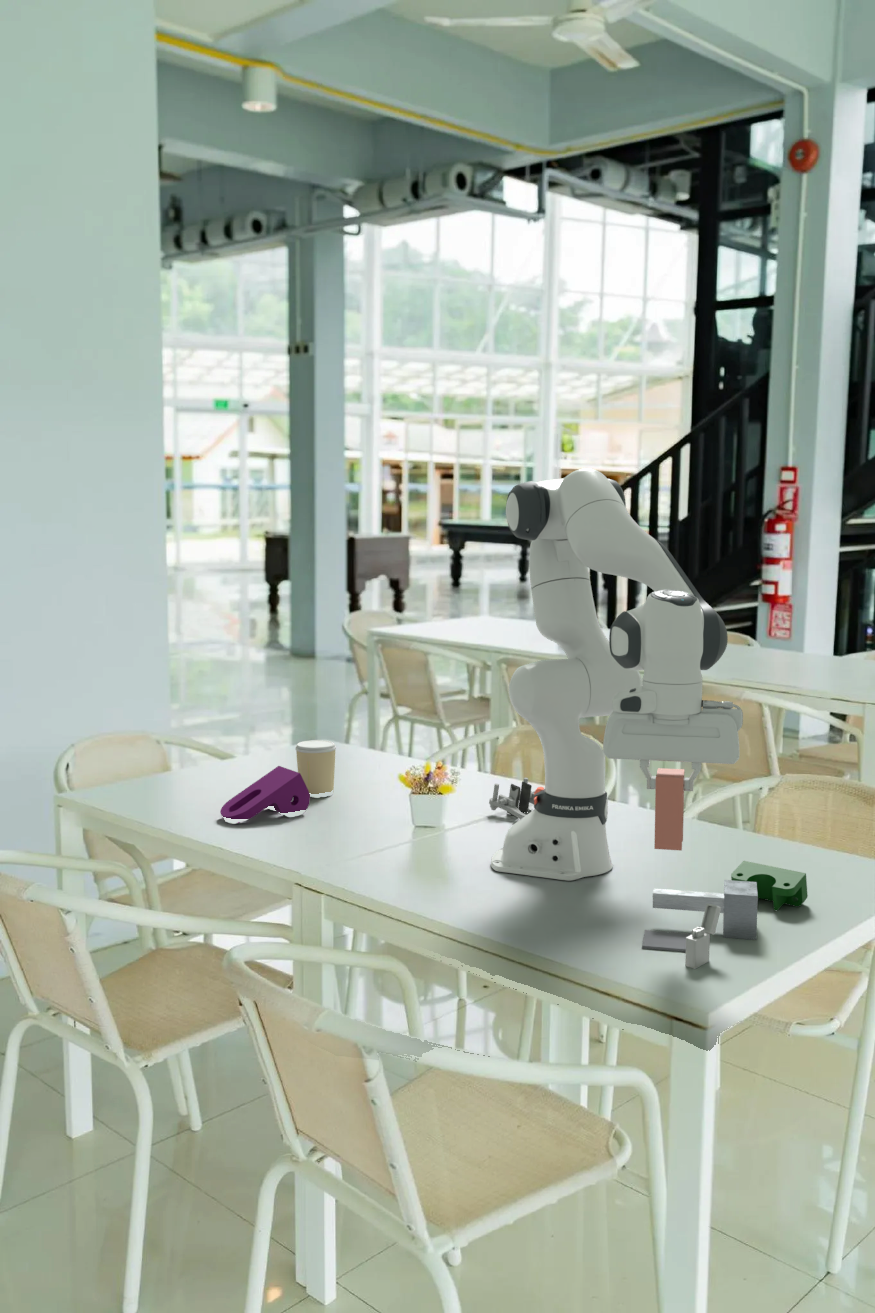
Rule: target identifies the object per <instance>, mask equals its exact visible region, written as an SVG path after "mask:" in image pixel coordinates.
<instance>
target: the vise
mask: <svg viewBox="0 0 875 1313" xmlns="http://www.w3.org/2000/svg"><path fill="white" fill-rule="evenodd" d="M758 901H759V898H758V893H757V883H756V882H748V881H733V880H731V879H730V880H729V879H724V880H723V892H721V893H720V892H708V891H697V890H695V891H694V890H678V889H667V888H666V889H665V888H664V889H663V888H653V890H652V909H664V910H665V909H666V910H678V911H692V912H693V911H694V912H704V913H705V909H706V905H707V904H712V905H716V906H719V907H720V908H721V911H720V914H722V915H723V916H722V938H727V939H741V940H743V939H744V940H756V941H757V934H758V933H757V931H758V930H757V929H758V928H757V926H758Z"/></svg>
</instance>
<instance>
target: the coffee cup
mask: <svg viewBox="0 0 875 1313" xmlns="http://www.w3.org/2000/svg"><path fill="white" fill-rule="evenodd" d="M336 749H337V746H336V744H335V742H333V741H330V740H326V739H323V740H322V739H321V740H320V739H312V740H303V741H299V742H298V743H296V746H295V751H296V762H297V764H296V767H297V772H298V773H300V774H301V776H302V778H303V780H304V782H305V785H306V787H307V789H308V791H309V793H311V794H319V793H325V792H331V791H332V790H333V791H334V784H335V771H336V770H335V768H336Z"/></svg>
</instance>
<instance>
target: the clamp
mask: <svg viewBox="0 0 875 1313" xmlns="http://www.w3.org/2000/svg"><path fill="white" fill-rule="evenodd" d="M730 876H731V877H730V880H733V881H748V882H756V883H757V893H758V899H761V900H765V899H766V900H765V901H769V900H770V901H769V902H773V903H772V905H773V911H776V910H777V911H779V910H780V909H781V907H782V906H783V905H787V904H790V905H789V906H792V905H794V906H793V907H796V906H799V907H801V906H802V905H803V904H804V903H805V901H806V900H807V899H808V896H809V895H808V883H807V882H808V881H807V873H806V872H802V871H798V870H792V869H787V868H782V867H777V866H772V865H766V864H762V863H757V862H754V861H753V862H752V861H747V860H742V862H741V863H740V864H739V865H738V866H737V867H736V868H735V869H734V870H733V871H732V872H731V874H730Z"/></svg>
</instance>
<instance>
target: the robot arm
mask: <svg viewBox="0 0 875 1313" xmlns="http://www.w3.org/2000/svg"><path fill="white" fill-rule="evenodd" d="M626 504H627V503H626V497H625V493H624V490H623V488H622V486H620V484H619V483H618V481H617V480H614V479H610V478H609V477H608V478H607V476H606V475H604V474H603V473H602V472H601V471H599V470H597V469H594V468H587V467H585V468H579V469H576V470H574V471H572V472H570V473H568V474H567V475H566V476H565V477H563V478H554V479H545V480H539V481H534V480H530V481H525V482H522V483H521V482H520V483H519V484H516V485H514V486H513V487H512V488H511V490H510V491H509V493H508V495H507V498H506V504H505V518H506V522H507V525H508V529H509V530H510V532H511V533H512V534H513V535H514V536H515V537H516V538H518V539H521V540H527V541H531V542H530V546H529V558H528V559H529V560H528V561H529V580H530V590H531V591H530V592H531V597H532V603H533V610H534V617H535V625H536V627H537V630H538V631H539V633H540V634H541V635H542V636H543V637H544V638H545V639H548V640H550V641H551V642H553V643H555V644H557V645H558V646H559V647H560V648H561V650H563V653H564V654H565V655H566V657H567V658H557V659H541V660H537V661H535V662H530V663H526V664H523V665H521V666H518V667H517V668H516V669H515V671H514V672H513V674H512V675H511V677H510V680H509V683H508V684H509V685H508V697H509V700H510V704H511V706H512V707H513V709H514V711H515V713H517V714H518V715H519V716H520V717H521V718H522V719H524V720H525V721H527V723H529V725H531V727H532V728H533V729H534V732H536V734H537V737H538V738H539V740H540V743H541V746H542V752H543V762H544V764H543V765H544V786H538V787H536V789H535V790H534V791H535V792H534V791H533V792H534V804H533V808H534V809H533V810H532V811H530V812H528V813H526V814H525V815H526V816H524V817H523V818H522V819H519V820H517V821H516V822H515V823H514V824H512V825H511V826H510V827H509V829H508V830H507V832H506V833H505V834H506V835H505V837H504V840H503V846H502V848H500V849H498V850H496V851H495V852H494V854H492V856H491V861H490V867H491V868H492V870H494V871H496V872H500V873H509V874H515V875H516V874H517V875H524V876H531V877H538V878H546V879H554V880H561V881H569V882H570V881H575V880H576V881H577V880H579V879H581V878H584V877H585V878H586V877H592V876H598V875H602V874H606V873H608V872H610V871H611V870H612V868H613V866H614V864H613V862H612V858H611V856H610V855H611V854H610V849H609V844H608V837H607V835H608V834H607V826H606V825H607V824H606V823H607V821H608V812H609V810H608V809H609V806H608V805H609V804H608V802H609V801H608V800H609V799H608V792H607V790H606V758H607V759H610V760H611V759H615V760H632V761H636V760H637V761H639V768H640V770H641V771H642V773H643V775H644V777H645V778H646V789H647V790H656V775H652V773H651V771H650V769H649V767H650V764H651V761H653V762H655V761H657V762H659V761H661V762H676V763H677V762H678V763H679V762H680V763H691V770H693V771H692V772H691V774H690V776H689V777H685V776H684V787H683V791H684V792H694V781H695V780H696V778H697V777H698V776H699V774H700V772H701V771H702V764H703V763H704V764H722V765H724V764H726V765H734V764H736V763H737V762H738V761H739V760H740V756H741V755H740V740H739V739H740V738H739V731H740V730H741V728H742V727H743V725H744V724H743V723H744V722H743V721H744V712H743V710H742V708H741V707H740V706H739V705H737V704H734V702H733V701H730V700H729V701H728V700H725V701H716V700H708V699H707V700H704V699H703V675H702V672H701V671H708V670H710V669H711V668H713V666H714V665H715V664H717V663H718V661H719V660H720V659H721V658H722V656H723V655H724V654H725V652H726V649H727V646H728V641H729V640H728V631H727V627H726V625H725V622H724V620H723V619H722V617H721V616H720V615H719V613H717V611H716V610H715V609H714V608H713V607H712V606H711V605H709V603H708V602H706V600H704V598H703V597H702V596H701V595H700V593H699V592H698V590H697V588H696V587H695V586H694V584H693V583H692V582H691V579H689V576H687V574H686V573H685V572H684V570H683V569H682V567H681V566H680V564H679V563H678V561H677V560H676V559H675V558H674V556H673V555H672V553H671V552H670V550H668V548H667V547H666V546H665V545H664V544H663V542H660V541H659V540H658V539H657V538H655V537H653V536H652V535H650V534H649V533H648V532H646V530H644V529H643V528H642V527H641V526H640V525H639V524H638V523H637V522H636V520H634V519H633V517H632V516H631V515H630V513H629V511H628V509H627V508H626V507H627V505H626ZM589 569H590V570H592V571H595V572H598V573H600V574H601V573H602V574H606V575H613V576H617V577H621V578H622V577H623V578H625V579H630V580H633V581H636V582H639V583H641V584H643V585H645V586H647V587H649V588H650V589H652V592H650V593H649V594H648V596H647V597H646V600H645V602H644V603H643V604H641V605H639V606H637V607H635V608H632V609H630V610H626V611H622V612H621V613H620V614H619V615H617V616H616V617H615V619H614V621H613V622H612V624H611V625H610V629H609V637H608V638H607V636H606V635H605V633H604V631H603V629H602V627H601V625H600V622H599V619H598V615H597V610H596V606H595V600H594V597H593V596H594V594H593V590H592V585H591V577H590V572H589ZM640 671H643V675H642V676H641V673H640ZM605 716H606V717H607V716H609V717H608V718H607V721H606V725H605V730H604V735H603V742H602V744H603V746H602V747H601V745H600V744H599V743H598V742H597V741H595V740H593V739H592V738H590V737H588V736H586V735H583V734H582V732H581V728H580V719H581V718H583V719H584V718H593V717H595V718H596V717H605Z"/></svg>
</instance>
